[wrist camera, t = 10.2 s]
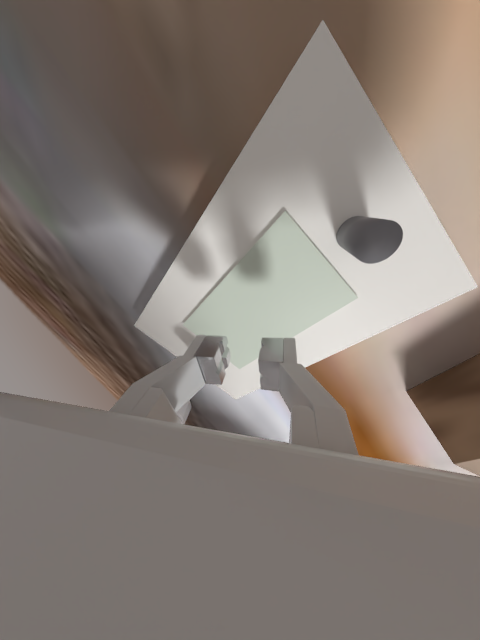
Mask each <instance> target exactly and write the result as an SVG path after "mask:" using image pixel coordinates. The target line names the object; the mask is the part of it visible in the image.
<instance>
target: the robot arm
mask: <svg viewBox="0 0 480 640" xmlns="http://www.w3.org/2000/svg"><path fill="white" fill-rule="evenodd" d="M227 344H228V340H227V337H226V336H218V335H197V336H196V337H195V339H194V340H193V342H192V343H191V345H190V346H189V347H188V349H187V350H186V352H185V353H184V355H183V356H179V357H177V358H175V359H174V360H172V361H170V362H168V363H167V364H165V365H163V366H162V367H160V368H158V369H157V370H155V371H153V372H151V373H150V374H148V375H146V376H145V377H143V378H141V379H140V380H138V381H136V382H135V383H133V384H132V385H131V386H130V387H129V388H128V389H127V391H126V392H125V393H124V394H123V395H122V396H121V398H120V399H119V400H118V401H117V402H116V403H115V405H114V406H113V407H112V408H111V409H110V411H105V410H99V409H94V408H88V407H82V406H77V405H71V404H65V403H60V402H54V401H48V400H43V399H37V398H31V397H26V396H20V395H15V394H9V393H4V392H0V640H480V477H477V476H472V475H466V474H460V473H455V472H449V471H443V470H438V469H432V468H427V467H421V466H415V465H410V464H404V463H398V462H393V461H387V460H381V459H376V458H370V457H364V456H359V455H358V452H357V448H356V445H355V442H354V438H353V435H352V432H351V428H350V425H349V422H348V418H347V415H346V412H345V410H344V409H343V408H342V406H341V405H340V404H339V403H338V402H337V401H336V400H335V399H334V398H333V397H332V396H331V395H330V394H329V393H328V392H327V391H326V390H325V389H324V388H323V386H322V385H321V384H320V383H319V382H318V381H317V380H316V379H315V378H314V377H313V376H312V375H311V374H310V373H309V372H308V371H307V370H306V369H305V368H304V366H303V365H302V364H297V352H296V341H295V338H284V339H283V338H270V337H262V340H261V347H262V348H261V349H260V352H259V358H258V364H259V372H260V373H261V374H260V385H261V389H264V390H271V391H279V392H280V394H281V396H282V398H283V399H284V401H285V403H286V405H287V406H288V408H289V410H290V412H291V421H290V437H289V443H285V442H280V441H274V440H269V439H263V438H257V437H252V436H246V435H241V434H235V433H229V432H224V431H218V430H213V429H207V428H201V427H196V426H190V425H184V424H181V421H180V419H179V418H178V416H177V414H176V412H177V411H178V410H179V409H180V408H181V407H182V406H183V405H184V404H186V403H187V402H188V401H189V400H190V399H191V398H192V397H193V396H194V395H195V394H196V393H197V392H198V391H199V390H200V389H201V388H202V387H204V386H205V385H206V384H217V385H222V383H223V380H224V377H225V375H226V373H225V369H226V368H227V367H228V366H229V363H230V349H229V348H228V347H227Z"/></svg>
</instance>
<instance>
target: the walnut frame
mask: <svg viewBox="0 0 480 640" xmlns="http://www.w3.org/2000/svg"><path fill="white" fill-rule="evenodd" d="M406 392H407V393H408V395H409V396H410V398H411V399H412V401H413V402H414V404H415V405H416V407H417V408H418V410H419V411H420V413H421V415H422V416H423V418H424V419H425V421H426V422H427V424H428V425H429V427H430V428H431V430H432V431H433V433H434V434H435V436H436V437H437V439H438V440H439V442H440V443H441V445H442V447H443V448H444V450H445V451H446V453H447V454H448V456H449V457H450V459H451V460H452V462H453V463H454V464H455V465H457V466H459V467H461V468H463V469H466V470H468V471H470V472H472V473H474V474H476V475H479V476H480V354H478V355H476V356H474V357H472V358H470V359H468V360H466V361H464V362H463V363H461V364H459V365H457V366H455V367H453V368H451V369H449V370H447V371H445V372H443V373H441V374H439V375H437V376H435V377H433V378H431V379H429V380H427V381H425V382H423V383H421V384H419V385H417V386H415V387H413V388H412V389H410V390H408V391H406Z"/></svg>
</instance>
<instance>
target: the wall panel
mask: <svg viewBox="0 0 480 640" xmlns="http://www.w3.org/2000/svg"><path fill="white" fill-rule="evenodd" d="M477 287H478V286H477V284H476V283H475V281H474V279H473V277H472V276H471V274H470V272H469V271H468V269H467V267H466V265H465V264H464V262H463V260H462V259H461V257H460V255H459V253H458V252H457V250H456V248H455V246H454V245H453V243H452V241H451V240H450V238H449V236H448V234H447V233H446V231H445V229H444V228H443V226H442V224H441V222H440V221H439V219H438V217H437V215H436V214H435V212H434V210H433V209H432V207H431V205H430V203H429V202H428V200H427V198H426V196H425V195H424V193H423V191H422V190H421V188H420V186H419V184H418V183H417V181H416V179H415V178H414V176H413V174H412V172H411V171H410V169H409V167H408V165H407V164H406V162H405V160H404V159H403V157H402V155H401V153H400V152H399V150H398V148H397V147H396V145H395V143H394V141H393V140H392V138H391V136H390V134H389V133H388V131H387V129H386V128H385V126H384V124H383V122H382V121H381V119H380V117H379V115H378V114H377V112H376V110H375V109H374V107H373V105H372V103H371V102H370V100H369V98H368V97H367V95H366V93H365V91H364V90H363V88H362V86H361V84H360V83H359V81H358V79H357V78H356V76H355V74H354V72H353V71H352V69H351V67H350V66H349V64H348V62H347V60H346V59H345V57H344V55H343V53H342V52H341V50H340V48H339V47H338V45H337V43H336V41H335V40H334V38H333V36H332V34H331V33H330V31H329V29H328V28H327V26H326V24H325V22H324V21H323V20H322V22H321V23H320V25H319V27H318V28H317V30H316V31H315V33H314V35H313V36H312V38H311V40H310V41H309V43H308V44H307V46H306V48H305V49H304V51H303V53H302V54H301V56H300V57H299V59H298V61H297V62H296V64H295V65H294V67H293V69H292V70H291V72H290V74H289V75H288V77H287V78H286V80H285V82H284V83H283V85H282V87H281V88H280V90H279V91H278V93H277V95H276V96H275V98H274V99H273V101H272V103H271V104H270V106H269V108H268V109H267V111H266V112H265V114H264V116H263V117H262V119H261V121H260V122H259V124H258V125H257V127H256V129H255V130H254V132H253V134H252V135H251V137H250V138H249V140H248V142H247V143H246V145H245V146H244V148H243V150H242V151H241V153H240V155H239V156H238V158H237V159H236V161H235V163H234V164H233V166H232V168H231V169H230V171H229V172H228V174H227V176H226V177H225V179H224V181H223V182H222V184H221V185H220V187H219V189H218V190H217V192H216V193H215V195H214V197H213V198H212V200H211V202H210V203H209V205H208V206H207V208H206V210H205V211H204V213H203V215H202V216H201V218H200V219H199V221H198V223H197V224H196V226H195V228H194V229H193V231H192V232H191V234H190V236H189V237H188V239H187V240H186V242H185V244H184V245H183V247H182V249H181V250H180V252H179V253H178V255H177V257H176V258H175V260H174V262H173V263H172V265H171V266H170V268H169V270H168V271H167V273H166V274H165V276H164V278H163V279H162V281H161V283H160V284H159V286H158V287H157V289H156V291H155V292H154V294H153V296H152V297H151V299H150V300H149V302H148V304H147V305H146V307H145V309H144V310H143V312H142V313H141V315H140V317H139V318H138V320H137V321H136V323H135V325H134V326H135V327H136V328H138V329H139V330H140V331H142V332H143V333H144V334H146V335H147V336H149V337H150V338H151V339H153V340H154V341H155V342H157V343H158V344H160V345H161V346H162V347H164V348H165V349H167V350H168V351H169V352H171V353H172V354H173V355H175V356H176V357H179V356H183V355H184V353H185V352H186V350H187V349H188V347H189V346H190V345H191V343H192V342H193V340H194V339H195V337H196V336H197V335H218V336H226V337H227V340H228V344H227V347H228V348H229V349H230V363H229V366H228V367H227V368H226V369H225V373H226V375H225V377H224V380H223V383H222V385H217V384H215V385H216V386H218V387H219V388H220V389H222V390H223V391H225V392H226V393H227V394H229V395H230V396H231V397H233V398H234V399H238V398H241V397H243V396H245V395H247V394H249V393H251V392H254V391H256V390H258V389H260V388H261V385H260V374H261V373H260V372H259V364H258V358H259V352H260V349H261V348H262V347H261V340H262V337H270V338H283V339H284V338H295V341H296V352H297V364H302V365H303V366H304V368H305V367H307V366H309V365H312V364H314V363H316V362H318V361H320V360H322V359H324V358H327V357H329V356H331V355H333V354H335V353H337V352H339V351H342V350H344V349H346V348H348V347H350V346H352V345H354V344H357V343H359V342H361V341H363V340H365V339H367V338H370V337H372V336H374V335H376V334H378V333H380V332H382V331H385V330H387V329H389V328H391V327H393V326H395V325H397V324H400V323H402V322H404V321H406V320H408V319H410V318H412V317H415V316H417V315H419V314H421V313H423V312H425V311H428V310H430V309H432V308H434V307H436V306H438V305H440V304H443V303H445V302H447V301H449V300H451V299H453V298H455V297H458V296H460V295H462V294H464V293H466V292H468V291H470V290H473V289H475V288H477Z"/></svg>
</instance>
